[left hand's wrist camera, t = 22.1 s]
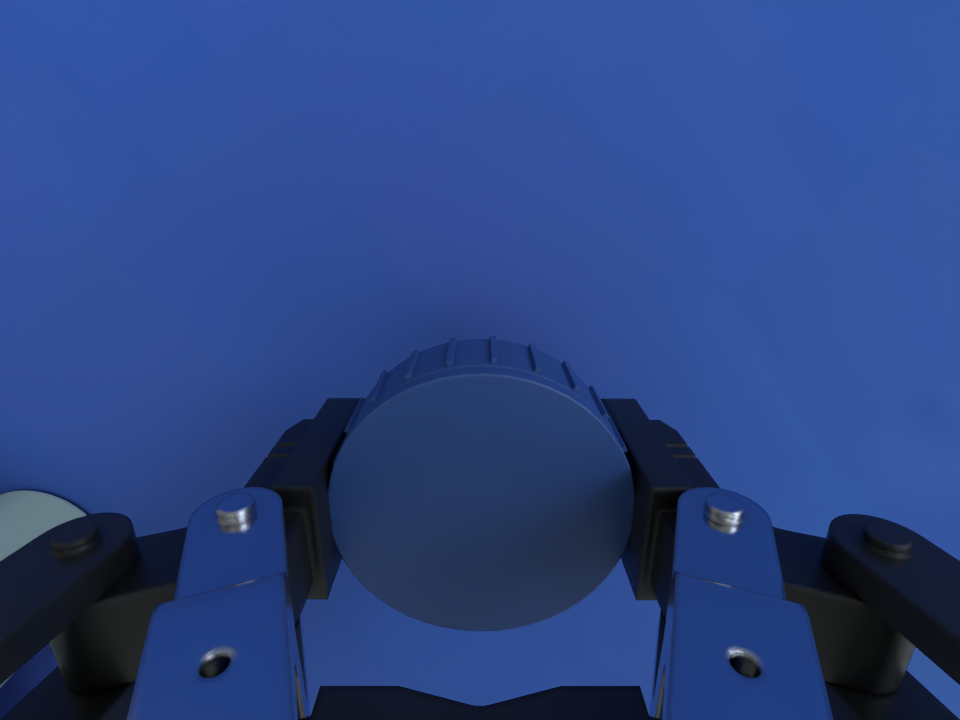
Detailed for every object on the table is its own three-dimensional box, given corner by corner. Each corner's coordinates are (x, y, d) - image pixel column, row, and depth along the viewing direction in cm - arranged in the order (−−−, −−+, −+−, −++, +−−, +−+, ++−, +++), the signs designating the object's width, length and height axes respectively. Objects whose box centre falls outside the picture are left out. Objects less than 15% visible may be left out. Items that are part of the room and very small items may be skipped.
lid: (324, 536, 11) (297, 599, 10) (378, 299, 9) (356, 327, 8) (562, 590, 12) (575, 659, 10) (657, 377, 10) (692, 420, 8)
